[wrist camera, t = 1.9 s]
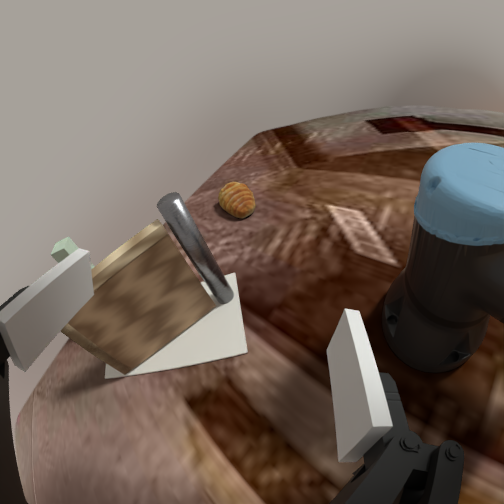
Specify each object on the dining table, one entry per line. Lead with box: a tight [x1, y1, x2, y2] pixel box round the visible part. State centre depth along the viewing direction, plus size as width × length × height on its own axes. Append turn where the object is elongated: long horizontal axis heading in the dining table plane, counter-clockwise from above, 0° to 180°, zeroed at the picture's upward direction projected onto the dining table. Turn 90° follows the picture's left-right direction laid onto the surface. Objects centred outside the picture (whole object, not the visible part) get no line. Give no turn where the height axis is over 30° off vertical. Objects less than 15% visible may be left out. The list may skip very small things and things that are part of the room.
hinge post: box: [157, 192, 234, 304], centre depth 37 cm, size 3×3×19 cm
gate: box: [61, 219, 216, 375], centre depth 35 cm, size 18×2×17 cm, turn 127°
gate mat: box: [105, 273, 248, 379], centre depth 42 cm, size 24×14×1 cm, turn 99°
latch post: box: [51, 237, 95, 269], centre depth 41 cm, size 3×2×18 cm
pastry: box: [218, 182, 256, 219], centre depth 57 cm, size 9×7×4 cm
